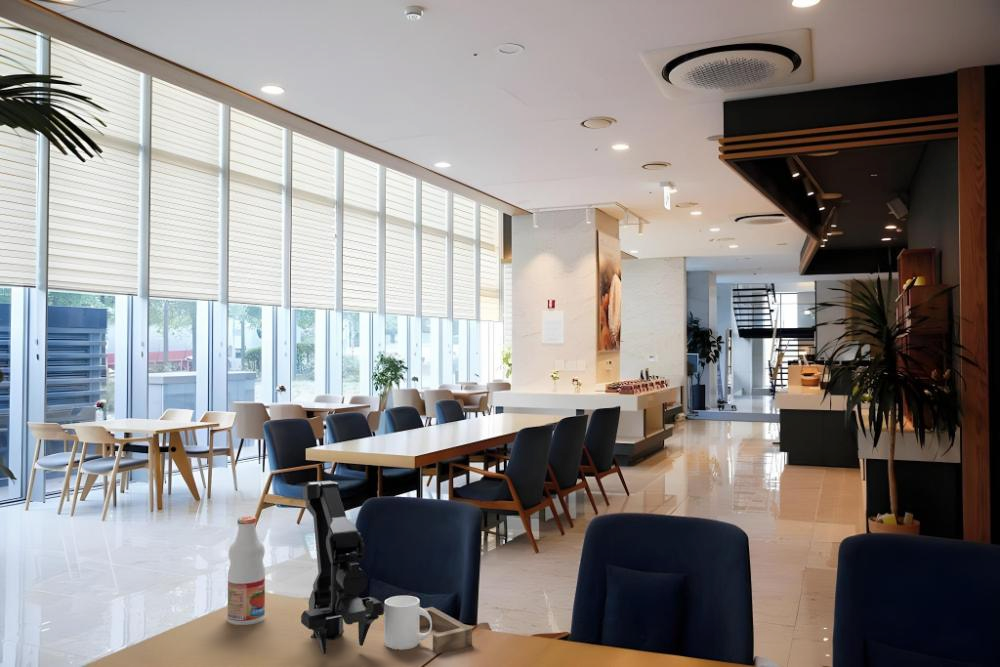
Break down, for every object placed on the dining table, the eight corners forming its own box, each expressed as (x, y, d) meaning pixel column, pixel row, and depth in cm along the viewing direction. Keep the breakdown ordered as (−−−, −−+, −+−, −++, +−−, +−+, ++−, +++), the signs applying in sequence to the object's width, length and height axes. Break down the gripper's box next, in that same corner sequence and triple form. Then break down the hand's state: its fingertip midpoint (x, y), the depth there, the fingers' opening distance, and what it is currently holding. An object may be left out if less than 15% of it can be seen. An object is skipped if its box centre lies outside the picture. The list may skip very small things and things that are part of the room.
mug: (426, 653, 186) (426, 608, 186) (379, 649, 189) (379, 605, 189) (436, 640, 194) (437, 597, 195) (391, 637, 197) (391, 594, 197)
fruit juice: (231, 618, 210) (233, 514, 211) (267, 617, 211) (268, 514, 212) (223, 631, 201) (224, 522, 202) (260, 629, 202) (261, 521, 203)
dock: (436, 653, 186) (436, 636, 186) (398, 629, 202) (398, 613, 203) (472, 644, 192) (472, 628, 192) (432, 621, 208) (432, 606, 208)
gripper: (318, 598, 172) (317, 670, 171) (394, 584, 182) (394, 651, 182) (300, 586, 181) (300, 654, 180) (374, 573, 191) (373, 637, 191)
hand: (343, 649), depth 183 cm, fingers open, 9 cm apart
